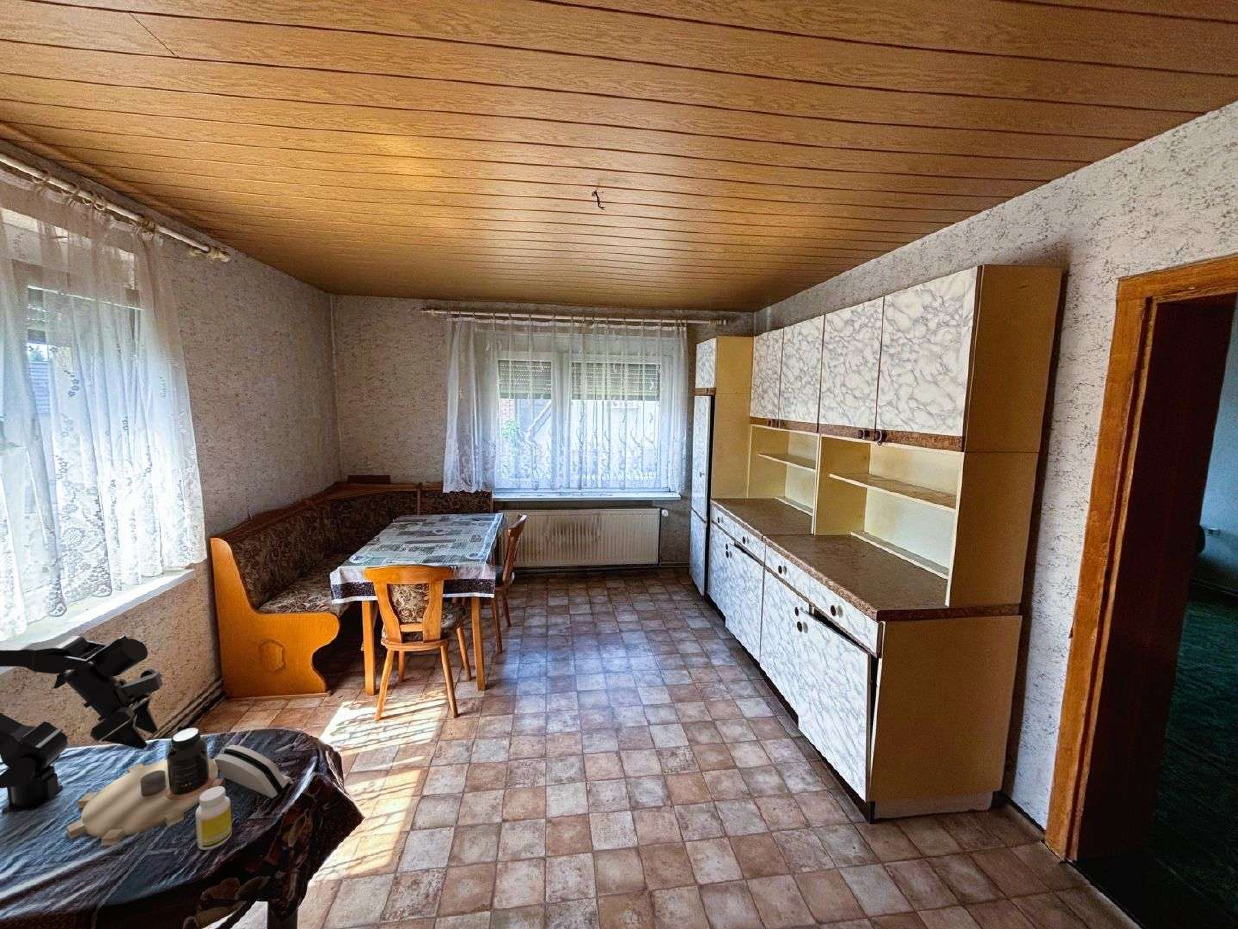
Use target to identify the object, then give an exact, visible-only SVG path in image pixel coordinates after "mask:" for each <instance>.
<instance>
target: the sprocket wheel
mask: <svg viewBox="0 0 1238 929" xmlns="http://www.w3.org/2000/svg"><path fill="white" fill-rule="evenodd" d="M208 761H209V779H208V781H207V782H206V783H205V784H204V785H203V786H202V787H200V788H199V789H197V790H195V791H193V792H190V793H187V794H182V795H176V794H173V793H171V791H170V787H169V777H168V767H167V758H166V759H163V760H159V761H155V762H153V763H151V764H148V765H144V764H143V763H142V762H140V763H138V764H135V765H133V766H130V767H128V768H127V774H124V775H122V776H120V777H119V778H117V779H115V780H113V781H112V782H110V783H109V784H108V785H106V786H104V787H103V788H102V789H101V790H99V791H93V792H87V793H86V794H85V795H84V796H82V797H81V798H80V799H79V800H78V802H77V803H78V808H79V809H81V808H82V811H81V814H80V816H81V817H80V820H77V821H75V822H72V823H71V824H68V825H66V832H67V835H68V837H69V839H70V840H71V839H73V838H76V837H78V836H79V835H82V834H84V833H86V834H88V835H90V836H92V837H97V838H101V839H100V840H101V847H107V846H113V845H117V844H118V843H119V842H120V841H121V840H122V839H123V838H124V837H125V836H129V835H133V834H137V833H140V832H144V831H147V830H149V829H152V828H156V827H158V826H160V825H163V824H164V823H165V825H166V826H168V827H169V828H170V827H171V826H172V827H173V825H175V824H177V823H179V822H181V821H183V820H184V813H186V812H187V811H189V810H191V809H192V808H193V807H195V806H196V805H198V804H199V797H200V795H201V794H202V793H203V792H205V791H206V790H208V789H210V788H213V787H217V786H222V787H223V786H224V787H225V785H226V778H224V777H223V778H219V769H218V766H217V764H216V762H215V758H209V757H208Z"/></svg>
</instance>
